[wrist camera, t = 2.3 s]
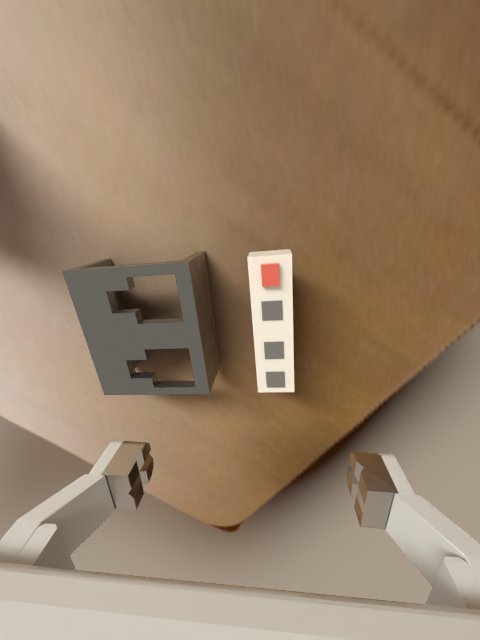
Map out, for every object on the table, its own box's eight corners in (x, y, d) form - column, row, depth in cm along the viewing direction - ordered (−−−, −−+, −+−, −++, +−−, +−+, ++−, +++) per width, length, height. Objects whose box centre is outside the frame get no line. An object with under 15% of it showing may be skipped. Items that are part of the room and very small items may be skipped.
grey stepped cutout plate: (205, 251, 31) (188, 262, 25) (220, 362, 37) (209, 394, 30) (103, 259, 33) (62, 271, 27) (132, 364, 39) (104, 394, 32)
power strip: (287, 244, 30) (292, 254, 23) (290, 360, 36) (294, 395, 29) (252, 247, 31) (246, 258, 24) (260, 361, 36) (257, 395, 29)
